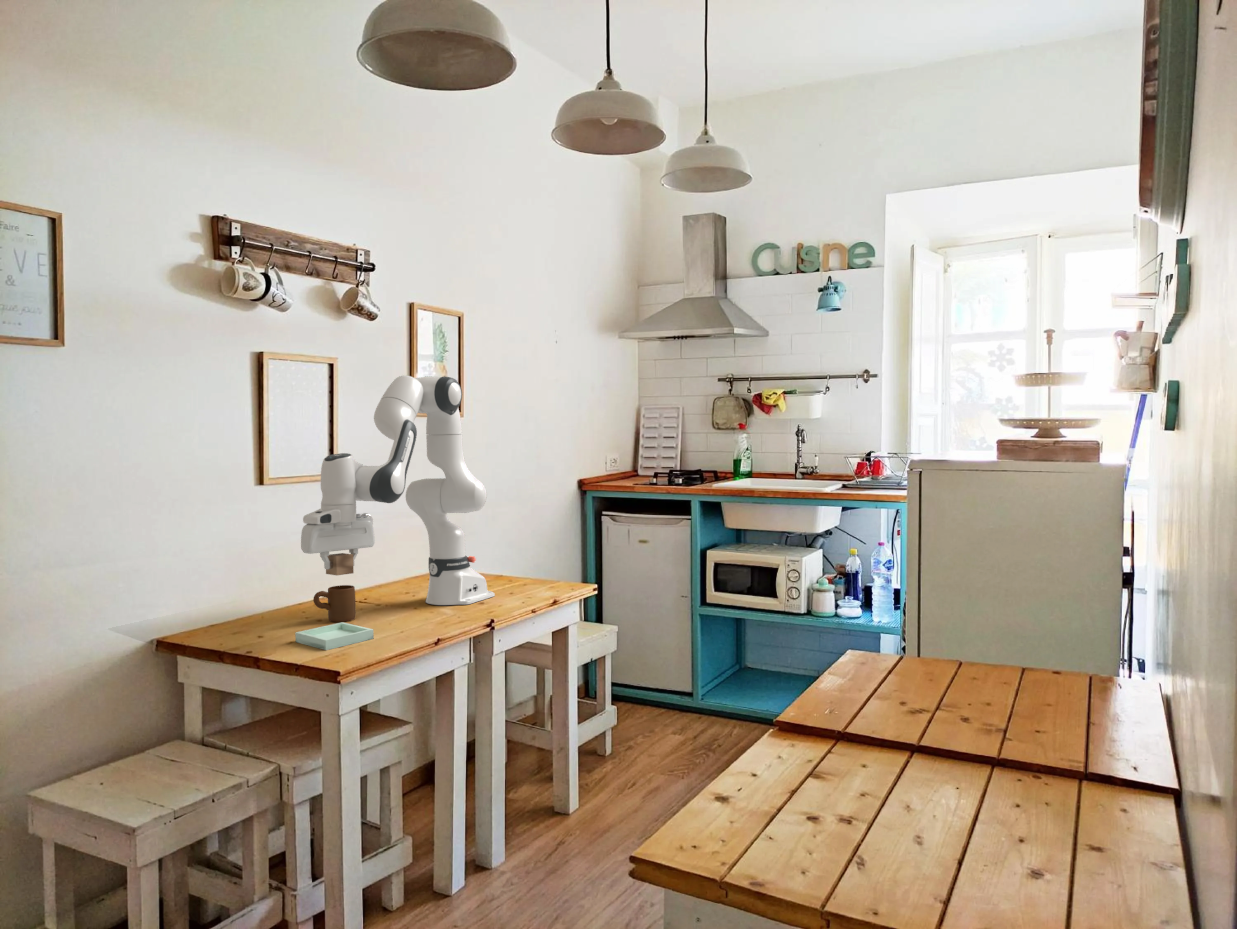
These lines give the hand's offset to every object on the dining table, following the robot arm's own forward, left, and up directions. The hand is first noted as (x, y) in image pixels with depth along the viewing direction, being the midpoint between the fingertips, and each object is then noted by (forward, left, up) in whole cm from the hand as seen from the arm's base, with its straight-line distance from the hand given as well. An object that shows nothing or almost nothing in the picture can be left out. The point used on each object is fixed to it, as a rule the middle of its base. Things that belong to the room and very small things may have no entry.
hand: (339, 567), depth 226 cm
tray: (+3, +1, -19) cm, 19 cm away
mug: (-10, -19, -19) cm, 29 cm away
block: (0, 0, -2) cm, 2 cm away
